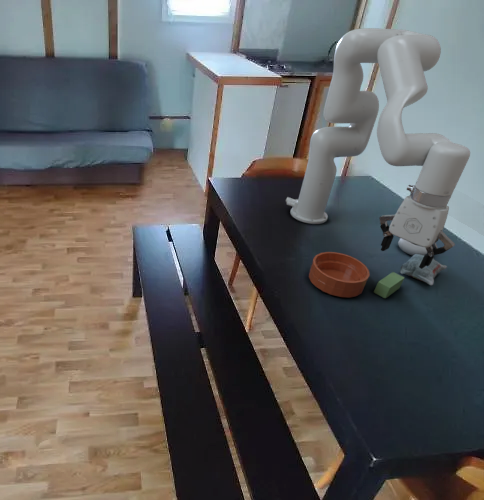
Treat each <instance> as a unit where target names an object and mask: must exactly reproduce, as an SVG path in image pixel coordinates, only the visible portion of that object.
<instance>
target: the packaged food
mask: <svg viewBox="0 0 484 500" xmlns="http://www.w3.org/2000/svg"><path fill="white" fill-rule="evenodd" d="M423 257H424V256H423V255H420V254H415V255H413V256H412V255H411V257H410V258H409V259H408V260H407V261H405V262H404V263H402V265H401V266H400V271H399V272H400V275H401V274H402V275H404V274H405V275H407V276H408V277H411V278H414V279H415V280H419V281H420V282H423V283H426V284H427V285H429V286H434V282H435V278H436V277H437V275H438V274H439V273H441V272H442V271H444V270H446V269H447V268H448V265H445V264H442V263H440V262H439V261H437V260H436V259H435V257H434V258H433V260H432V262H431V264H430V265H429V266H425V267H424V268H422V269H421V268H420V267H419V266H420V264H421V262H422V259H423Z"/></svg>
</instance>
